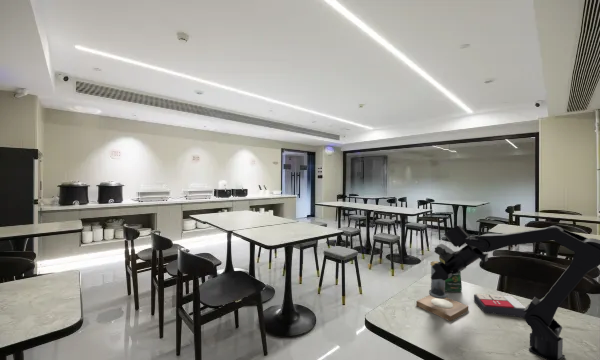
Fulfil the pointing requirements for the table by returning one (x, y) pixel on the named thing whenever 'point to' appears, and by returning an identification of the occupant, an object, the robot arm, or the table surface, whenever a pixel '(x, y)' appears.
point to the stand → (443, 307)
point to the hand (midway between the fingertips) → (434, 276)
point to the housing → (437, 285)
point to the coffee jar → (452, 280)
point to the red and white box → (500, 305)
